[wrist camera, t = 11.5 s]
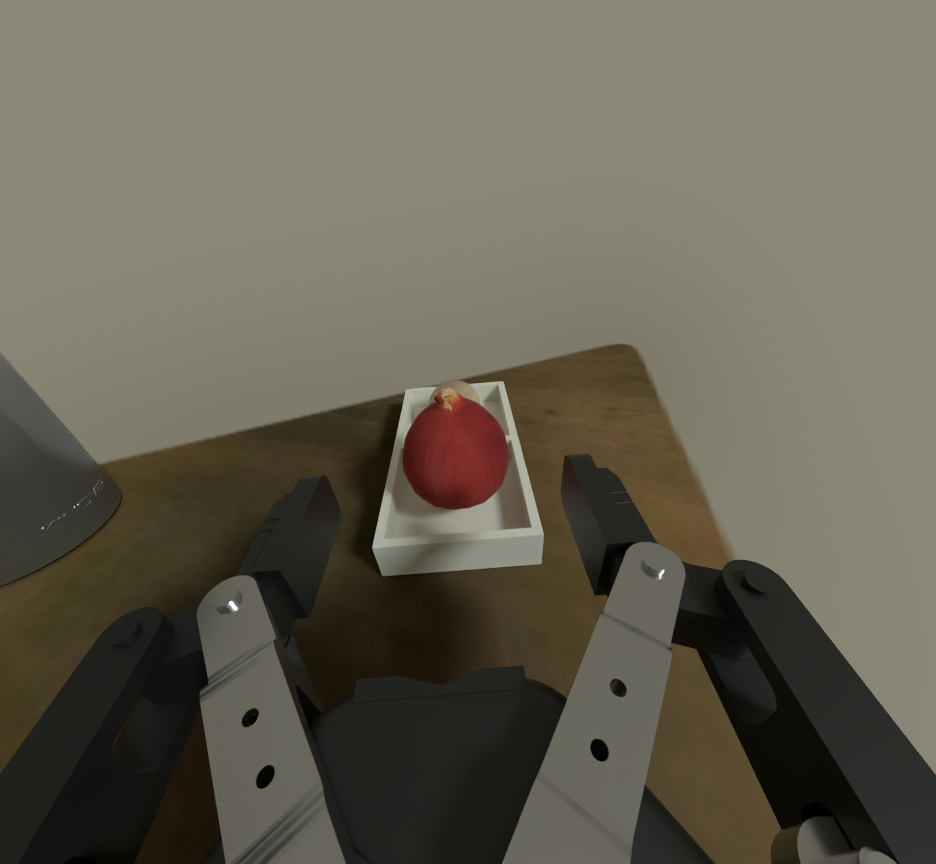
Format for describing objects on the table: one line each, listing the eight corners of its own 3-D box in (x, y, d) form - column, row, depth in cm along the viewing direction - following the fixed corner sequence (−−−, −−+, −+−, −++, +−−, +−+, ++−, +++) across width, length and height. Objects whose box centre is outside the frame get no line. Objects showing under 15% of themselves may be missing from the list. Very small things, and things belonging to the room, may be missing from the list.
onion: (434, 466, 25) (416, 359, 20) (516, 477, 23) (517, 364, 19) (398, 531, 20) (366, 413, 16) (497, 551, 19) (493, 425, 14)
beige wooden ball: (431, 444, 27) (423, 398, 25) (433, 416, 30) (426, 373, 28) (483, 440, 27) (481, 394, 25) (480, 412, 30) (477, 369, 28)
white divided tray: (382, 576, 19) (372, 548, 18) (410, 412, 32) (406, 389, 31) (541, 563, 19) (543, 534, 18) (503, 404, 32) (503, 381, 31)
